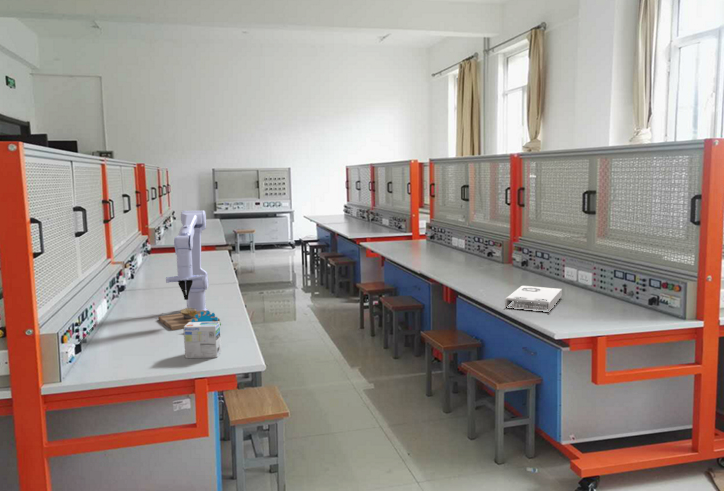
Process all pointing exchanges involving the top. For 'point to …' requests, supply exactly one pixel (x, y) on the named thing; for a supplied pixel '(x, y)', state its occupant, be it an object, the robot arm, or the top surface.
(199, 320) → the gear
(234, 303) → the top surface
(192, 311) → the lever handle
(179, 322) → the board
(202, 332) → the light bulb box
